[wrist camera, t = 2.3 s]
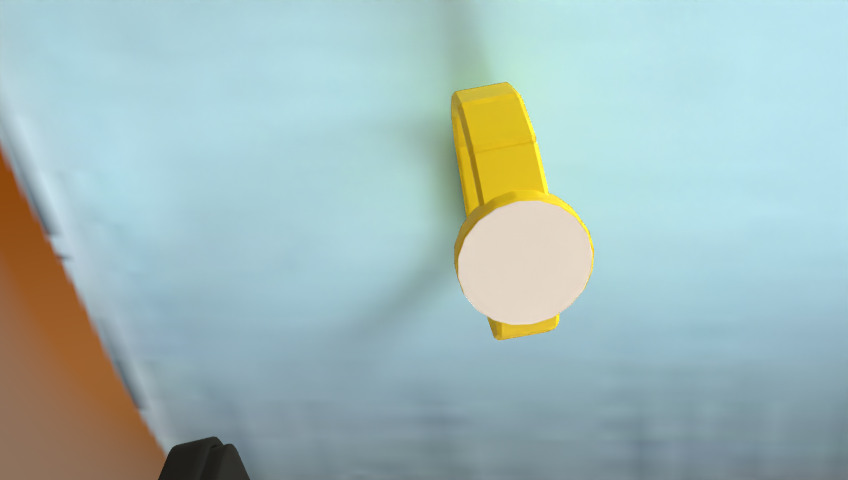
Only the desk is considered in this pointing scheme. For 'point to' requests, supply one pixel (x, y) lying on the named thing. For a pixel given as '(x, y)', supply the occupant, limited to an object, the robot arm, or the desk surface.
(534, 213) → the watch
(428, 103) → the desk surface
